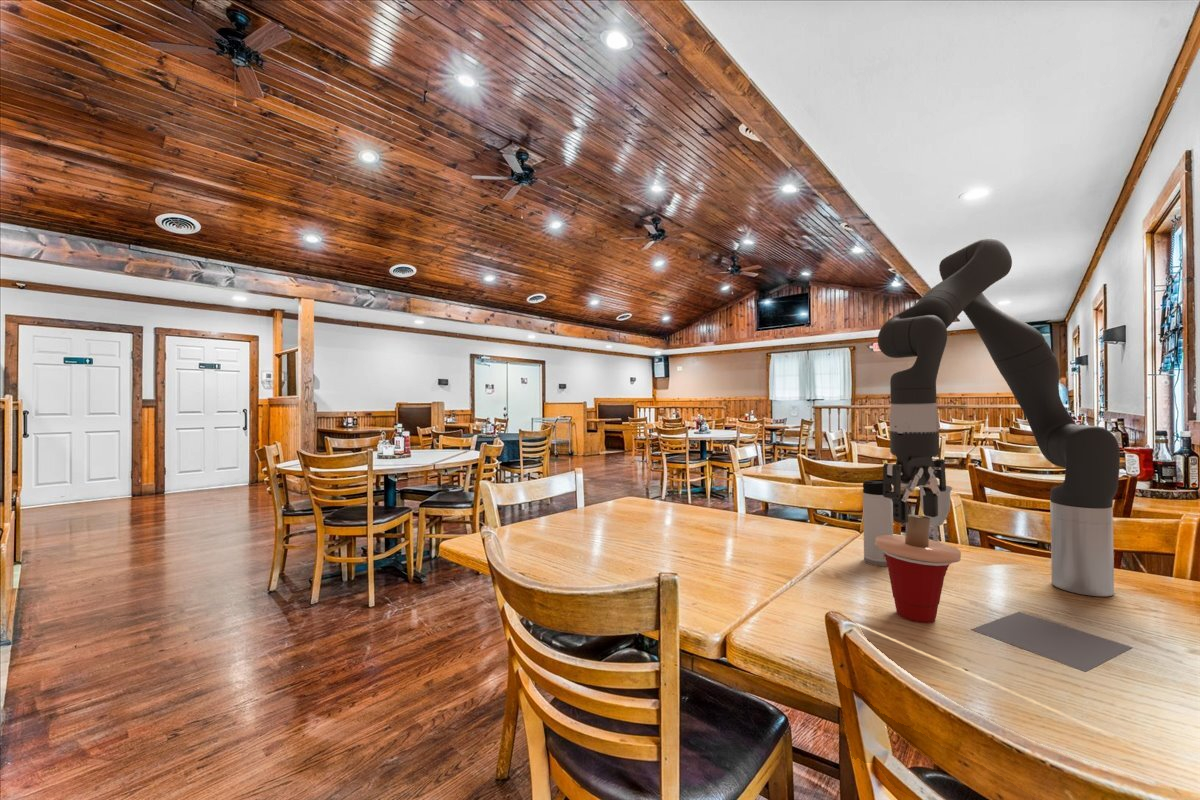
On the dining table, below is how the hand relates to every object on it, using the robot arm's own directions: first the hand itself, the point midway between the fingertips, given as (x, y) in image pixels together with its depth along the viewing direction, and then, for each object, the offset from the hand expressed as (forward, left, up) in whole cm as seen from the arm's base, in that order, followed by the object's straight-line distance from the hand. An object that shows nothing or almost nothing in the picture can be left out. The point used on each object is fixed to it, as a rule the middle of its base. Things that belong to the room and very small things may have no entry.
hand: (915, 519), depth 91 cm
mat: (-10, +15, -18) cm, 25 cm away
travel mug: (-22, -23, -18) cm, 37 cm away
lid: (0, 0, -6) cm, 6 cm away
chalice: (-34, -17, -18) cm, 42 cm away
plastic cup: (0, 0, -18) cm, 18 cm away
